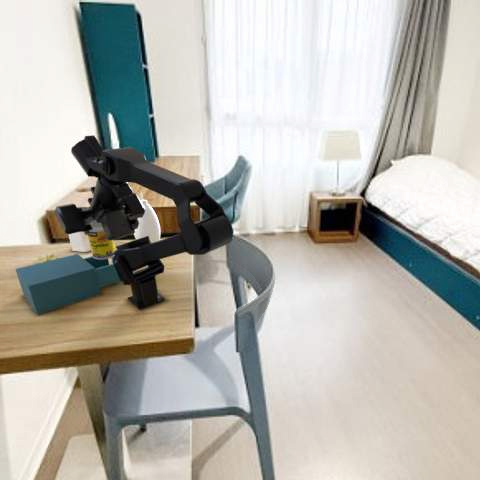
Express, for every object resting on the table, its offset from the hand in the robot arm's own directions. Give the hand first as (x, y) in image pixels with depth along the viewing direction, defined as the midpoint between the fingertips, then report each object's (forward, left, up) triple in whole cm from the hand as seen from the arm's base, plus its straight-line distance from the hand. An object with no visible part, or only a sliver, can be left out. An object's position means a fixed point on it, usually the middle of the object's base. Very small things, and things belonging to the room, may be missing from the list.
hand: (97, 230), depth 91 cm
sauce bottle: (+12, -18, -13) cm, 25 cm away
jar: (+26, -4, -13) cm, 29 cm away
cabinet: (-2, +12, -13) cm, 18 cm away
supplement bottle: (-1, 0, -7) cm, 7 cm away
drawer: (-2, 0, -12) cm, 12 cm away
